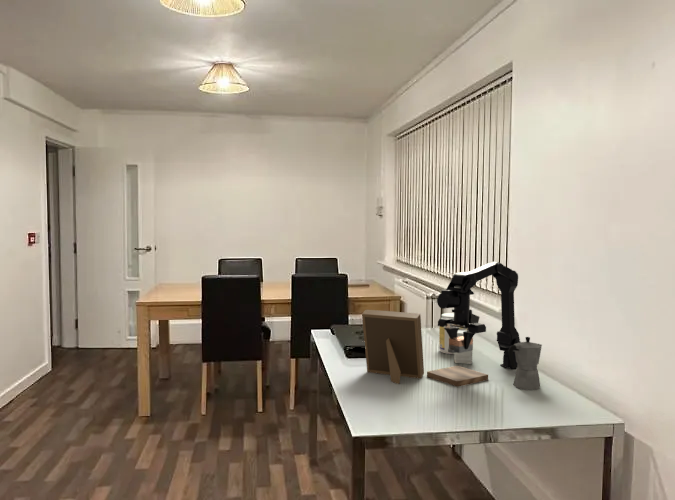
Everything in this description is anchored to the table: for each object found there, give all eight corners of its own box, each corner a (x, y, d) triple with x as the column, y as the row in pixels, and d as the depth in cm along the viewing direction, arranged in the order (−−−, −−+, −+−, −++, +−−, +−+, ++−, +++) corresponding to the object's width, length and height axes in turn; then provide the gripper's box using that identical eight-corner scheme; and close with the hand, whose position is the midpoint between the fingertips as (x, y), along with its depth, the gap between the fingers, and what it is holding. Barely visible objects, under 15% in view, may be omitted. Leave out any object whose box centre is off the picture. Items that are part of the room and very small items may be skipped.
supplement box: (472, 364, 241) (473, 333, 240) (454, 363, 242) (454, 333, 242) (472, 359, 248) (472, 330, 248) (454, 358, 250) (454, 329, 249)
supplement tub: (470, 350, 265) (471, 314, 264) (460, 356, 254) (461, 318, 253) (445, 347, 271) (445, 311, 270) (434, 352, 261) (435, 315, 260)
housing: (472, 350, 220) (473, 338, 220) (455, 353, 214) (456, 341, 214) (462, 348, 224) (462, 336, 224) (445, 351, 218) (445, 339, 218)
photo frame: (371, 369, 232) (371, 307, 230) (424, 375, 223) (424, 311, 221) (356, 379, 219) (356, 313, 217) (412, 386, 210) (412, 317, 208)
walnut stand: (456, 370, 231) (456, 365, 231) (488, 379, 217) (488, 374, 217) (426, 376, 222) (427, 371, 222) (457, 386, 208) (457, 381, 208)
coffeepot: (530, 380, 216) (532, 333, 215) (550, 387, 208) (551, 337, 207) (498, 386, 210) (499, 336, 209) (517, 393, 201) (518, 341, 200)
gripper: (495, 308, 217) (494, 349, 218) (455, 302, 231) (454, 341, 232) (477, 310, 210) (476, 353, 211) (437, 304, 224) (436, 344, 225)
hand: (460, 347), depth 220 cm, fingers closed on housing, 5 cm apart
